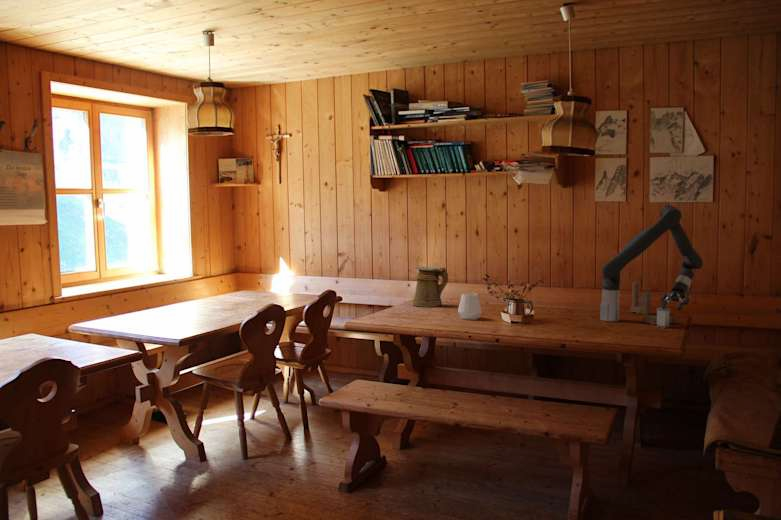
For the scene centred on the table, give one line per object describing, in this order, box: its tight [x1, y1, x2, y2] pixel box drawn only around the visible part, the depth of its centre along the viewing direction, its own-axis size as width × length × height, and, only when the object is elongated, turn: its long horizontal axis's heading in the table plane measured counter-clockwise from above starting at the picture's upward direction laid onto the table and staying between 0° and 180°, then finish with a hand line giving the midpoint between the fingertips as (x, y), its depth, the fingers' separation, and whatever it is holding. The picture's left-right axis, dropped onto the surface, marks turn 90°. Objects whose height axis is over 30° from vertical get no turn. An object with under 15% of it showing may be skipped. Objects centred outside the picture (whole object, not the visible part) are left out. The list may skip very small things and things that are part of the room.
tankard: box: [412, 266, 449, 308], centre depth 435 cm, size 18×24×25 cm
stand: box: [642, 315, 676, 325], centre depth 367 cm, size 14×9×3 cm, turn 109°
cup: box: [457, 292, 482, 321], centre depth 385 cm, size 13×13×14 cm
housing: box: [655, 306, 671, 329], centre depth 354 cm, size 5×5×10 cm
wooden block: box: [630, 281, 652, 315], centre depth 400 cm, size 4×11×18 cm, turn 40°
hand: (670, 308), depth 356 cm, fingers open, 8 cm apart
